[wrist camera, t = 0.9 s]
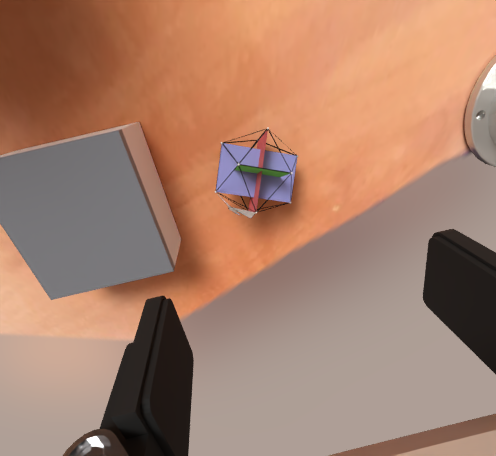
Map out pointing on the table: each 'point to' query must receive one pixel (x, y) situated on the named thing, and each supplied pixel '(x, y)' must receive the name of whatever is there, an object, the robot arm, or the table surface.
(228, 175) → the geometric puzzle
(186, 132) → the table surface
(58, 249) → the grey stand
